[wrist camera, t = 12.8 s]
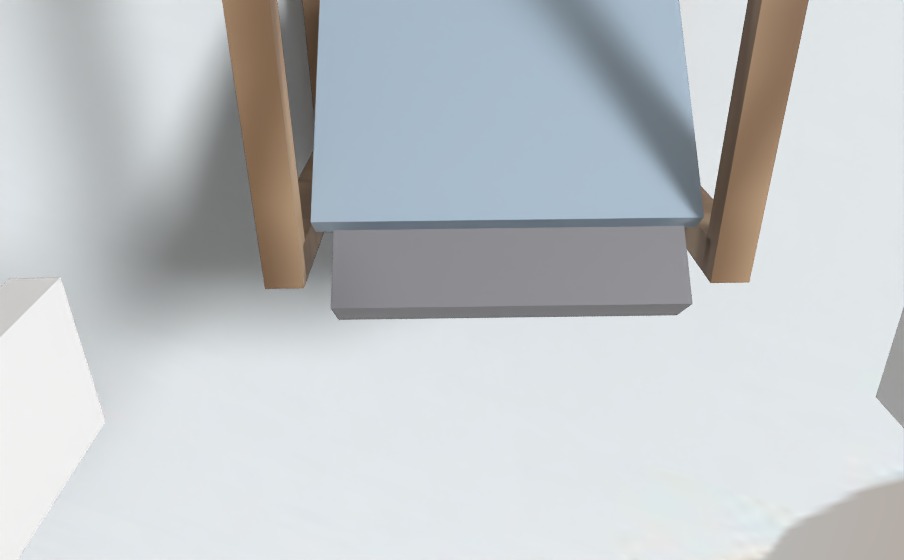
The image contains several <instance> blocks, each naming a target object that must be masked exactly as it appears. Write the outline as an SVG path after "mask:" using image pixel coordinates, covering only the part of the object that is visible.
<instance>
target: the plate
mask: <svg viewBox="0 0 904 560" xmlns="http://www.w3.org/2000/svg"><path fill="white" fill-rule="evenodd" d="M703 218H704V211H703V203H702V194H701V185H700V177H699V168H698V159H697V151H696V142H695V134H694V125H693V116H692V108H691V99H690V91H689V82H688V73H687V65H686V56H685V47H684V39H683V30H682V22H681V13H680V4H679V0H320V9H319V33H318V57H317V81H316V105H315V129H314V154H313V178H312V202H311V224H312V226H313V228H314V229H315V231H316V232H333V258H332V289H331V309H332V311H333V312H334V314H335V315H336V317H337V318H338V319H339V320H351V319H426V318H501V317H577V316H652V315H678V314H679V313H680V312H682V311H683V310H684V309H686V308H687V307H689V306H690V305H691V304H692V295H691V286H690V277H689V267H688V258H687V249H686V239H685V230H684V228H687V227H695V226H696V225H697V224H698V223H699V222H700V221H701V220H702V219H703Z"/></svg>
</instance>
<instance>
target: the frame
mask: <svg viewBox="0 0 904 560" xmlns="http://www.w3.org/2000/svg"><path fill="white" fill-rule="evenodd" d="M302 1H303V11H304V21H305V31H306V41H307V51H308V61H309V71H310V81H311V91H312V101H313V111H314V121H315V105H316V81H317V57H318V33H319V9H320V0H302ZM808 1H809V0H748V4H747V9H746V15H745V21H744V27H743V33H742V38H741V44H740V50H739V56H738V61H737V67H736V73H735V79H734V84H733V90H732V96H731V102H730V107H729V113H728V119H727V125H726V130H725V136H724V142H723V148H722V154H721V159H720V165H719V171H718V177H717V182H716V188H715V194H714V200H713V199H712V198H711V197H710V196H709V194H708V193H707V192H706V191H705V190H704V189H703V188H702V187H701V194H702V203H703V211H704V218H703V219H702V220H701V221H700V222H699V223H698V224H697V225H696V226H695V227H687V228H684V230H685V239H686V249H687V250H688V251H689V253H690V254H691V256H692V257H693V259H694V260H695V261H696V263H697V264H698V266H699V267H700V269H701V270H702V271H703V273H704V274H705V276H706V277H707V278H708V280H709V281H710V283H744V282H749V281H750V276H751V271H752V267H753V262H754V257H755V252H756V248H757V243H758V238H759V233H760V229H761V224H762V219H763V214H764V210H765V205H766V200H767V195H768V191H769V186H770V181H771V176H772V172H773V167H774V162H775V157H776V153H777V148H778V143H779V138H780V134H781V129H782V124H783V119H784V115H785V110H786V105H787V101H788V96H789V91H790V86H791V82H792V77H793V72H794V67H795V63H796V58H797V53H798V48H799V44H800V39H801V34H802V29H803V25H804V20H805V15H806V10H807V6H808ZM222 3H223V9H224V16H225V23H226V30H227V36H228V43H229V50H230V56H231V63H232V70H233V77H234V83H235V90H236V97H237V103H238V110H239V117H240V124H241V130H242V137H243V144H244V150H245V157H246V164H247V171H248V177H249V184H250V191H251V197H252V204H253V211H254V218H255V224H256V231H257V238H258V244H259V251H260V258H261V265H262V271H263V278H264V285H265V289H282V288H304V287H305V284H306V281H307V278H308V276H309V273H310V270H311V267H312V264H313V262H314V259H315V256H316V253H317V250H318V248H319V245H320V242H321V239H322V236H323V234H324V232H316V231H315V229H314V228H313V226H312V224H311V202H312V178H313V154H314V150H313V152H312V154H311V156H310V158H309V160H308V162H307V164H306V166H305V168H304V170H303V172H302V173H301V175H300V177H299V179H298V177H297V168H296V159H295V151H294V142H293V133H292V125H291V116H290V107H289V99H288V90H287V81H286V73H285V64H284V55H283V47H282V38H281V29H280V21H279V12H278V3H277V0H222Z"/></svg>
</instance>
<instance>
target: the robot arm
mask: <svg viewBox="0 0 904 560" xmlns="http://www.w3.org/2000/svg"><path fill="white" fill-rule="evenodd" d="M876 398H877V399H878V400H879V401H880V402H881V403H882V404H883V406H884V407H885V408H886V409H887V410H888V411H889V412H890V413H891V415H892V416H893V417H894V418H895V419H896V420H897V421H898V422H899V423H900V425H901V426H902V427H903V428H904V308H903V311H902V314H901V318H900V321H899V324H898V327H897V330H896V334H895V337H894V340H893V343H892V346H891V350H890V353H889V356H888V359H887V362H886V365H885V369H884V372H883V375H882V378H881V381H880V385H879V388H878V391H877V394H876ZM104 423H105V418H104V415H103V412H102V409H101V406H100V402H99V399H98V396H97V393H96V389H95V386H94V383H93V380H92V377H91V373H90V370H89V367H88V364H87V361H86V357H85V354H84V351H83V348H82V345H81V341H80V338H79V335H78V332H77V329H76V325H75V322H74V319H73V316H72V313H71V309H70V306H69V303H68V300H67V297H66V293H65V290H64V287H63V284H62V281H61V277H52V278H19V279H9V280H8V281H7V282H5V283H4V284H3V285H2V286H1V287H0V560H18V559H19V557H20V556H21V554H22V553H23V551H24V549H25V548H26V546H27V545H28V543H29V542H30V540H31V538H32V537H33V535H34V534H35V532H36V530H37V529H38V527H39V526H40V524H41V523H42V521H43V519H44V518H45V516H46V515H47V513H48V512H49V510H50V508H51V507H52V505H53V504H54V502H55V501H56V499H57V497H58V496H59V494H60V493H61V491H62V489H63V488H64V486H65V485H66V483H67V482H68V480H69V478H70V477H71V475H72V474H73V472H74V471H75V469H76V467H77V466H78V464H79V463H80V461H81V460H82V458H83V456H84V455H85V453H86V452H87V450H88V448H89V447H90V445H91V444H92V442H93V441H94V439H95V437H96V436H97V434H98V433H99V431H100V430H101V428H102V426H103V425H104Z"/></svg>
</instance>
